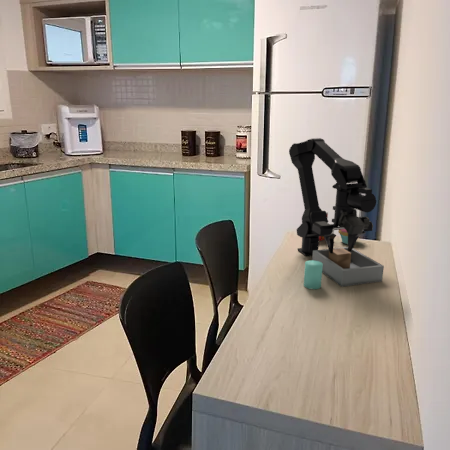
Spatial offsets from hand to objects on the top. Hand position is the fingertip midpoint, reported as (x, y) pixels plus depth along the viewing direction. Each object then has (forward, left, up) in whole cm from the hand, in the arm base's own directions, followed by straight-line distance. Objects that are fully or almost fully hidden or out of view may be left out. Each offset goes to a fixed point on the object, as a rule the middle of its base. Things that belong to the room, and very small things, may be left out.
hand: (340, 252), depth 142 cm
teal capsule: (+10, -15, -6) cm, 19 cm away
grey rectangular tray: (+4, 0, -6) cm, 7 cm away
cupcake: (-22, +18, -6) cm, 29 cm away
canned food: (-30, +8, -6) cm, 32 cm away
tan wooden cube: (0, 0, -5) cm, 5 cm away
